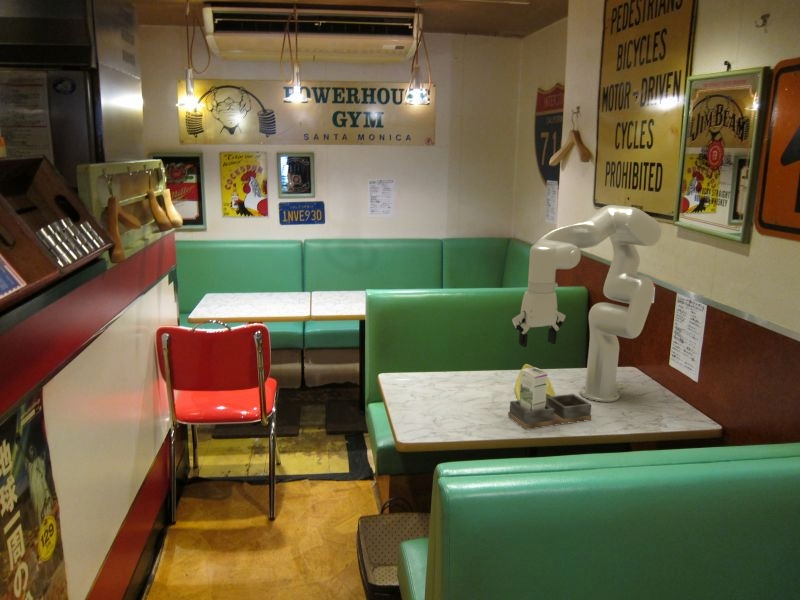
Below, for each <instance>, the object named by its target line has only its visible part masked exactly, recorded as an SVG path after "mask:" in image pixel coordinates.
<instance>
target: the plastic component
mask: <svg viewBox="0 0 800 600" xmlns="http://www.w3.org/2000/svg"><path fill="white" fill-rule="evenodd" d="M530 367H533V366H532V365H531V364H528V363H525V364H524V365H522V368H521V369H520V371H519V374H518V376H517V378H516V381H515V387H514V392H515V393H514V394H515V397H516V399H517V400H520V387H521V371H522V370H523V369H526V368H530ZM551 396H557V395H556V392H555V389H554V388H553V385H552V381H551V379H550V378H549V377H548V376H547V389H546V404H547V397H551ZM517 400H516V401H517Z"/></svg>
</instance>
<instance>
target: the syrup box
mask: <svg viewBox="0 0 800 600" xmlns="http://www.w3.org/2000/svg"><path fill="white" fill-rule="evenodd" d="M521 370H522V369H521ZM521 370H520V371H521ZM548 374H549V373H548V372H547V371H545V370H543V369H540V368H538V367H536V366H532V367H530V368H526V369H523V370H522V371H521V387H520V403H519V405H520V406H521V407H522V408H524V409H525V410H527V411H534V410H542V409H545V403H546V389H547V377H548ZM546 404H547V403H546Z"/></svg>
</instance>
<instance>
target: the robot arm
mask: <svg viewBox="0 0 800 600" xmlns="http://www.w3.org/2000/svg"><path fill="white" fill-rule="evenodd" d="M661 236H662V228H661V224H660V223H659V222H658V221H657V220H656V219H655V218H654V217H652V216H650V215H649V214H647V213H646V212H645V211H643V210H642V209H639V208H637V207H635V206H624V205H615V204H609V205H604V206H603V207H601V208H600V209H598V210H597V211H595V212H594V213H592V214H591V215H589V216H588V217H586V218H585V219H583V220H581V221H580V222H577V223H572V224H570V225H566V226H564V227H560V228H557V229H554V230H551V231H550V232H547V233H546V234H545V235H543V236H542V237H540V238H539V239H538V240H537V241H536V242H535V244H533V245H532V246H531V247H530V249H529V265H528V279H527V290H526V291H524V294H523V297H522V300H521V301H522V302H521V307H520V313H519V314H517V315H516V316H514V317H513V318H512V319H511V321H512V324H513V326H514V328H515V329H516V331H517V332H518V343H519V345H520V346H521V347H523V348H527V347H528V333H527V332H528V331H529V330H530V328H539V327H550V328H548V333H547V342H549V343H550V344H552V345H556V342H557V336H558V333H557V332H558V331H559V330H560V327H561V326H563V322H564V321H565V318H566V317H567V316H566V314H564V313H562V312H561V311H558V298H557V292H556V289H555V288H558V286H559V285H558V282H556V272H557V271H556V270H571V269H573V268H574V267H577V265H578V264H579V263H580V260H581V258H582V257H581V256H582V255H581V249H582V250H583V249H589V248H594V247H596V246H599V244H601V243H602V242H604V241H605V240H606V239H607V238H609V240H610V241H611V247H612V249H613V254H612V255H613V256H612V261H611V263H610V267H609V269H608V272H607V276H606V278H605V281H604V285H603V289H602V291H603V295H604V296H605V297H606V298H608V299H609V300H612V301H616V302H620V303H624V304H629V305H628V307H627V306H623V305H619V304H616V303H610V302H598V303H595V304H593V306H591V308H590V310H589V312H588V326H589V343H588V344H589V345H588V354H587V356H588V357H587V366H586V367H587V368H586V376H585V377H586V378H585V386H583V387H582V388H580V390H579V393H580V395H581V397H583V396H584V397H583V398H585V399H587V398H588V399H587V400H590V401H593V400H595V401H594V402H599V401H600V402H599V403H601V402H602V403H610V402H611V403H612V402H615V401H618V400H619V398H620V393H619V392H618V391H620V390H626V389H628V384H627V383H626V382H625V383H624V382H623V383H619V381H617V375H618V364H619V355H620V354H619V353H620V343H619V338H618V337H621V338H626V339H636V338H637V337H639V335H640V334H641V333H642V331H643V329H644V326H645V323H646V320H647V317H648V315H649V312H650V308H651V307H652V302H653V300H654V294H655V285H654V282H653V281H652V279H651V278H650V277H647V276H644V275H638V274H637V273H638V269H639V266H640V262H641V258H640V254H639V251H638V250H637V247H636V246H642V247H653V246H654V245H656V244H657V243H658V242H659V241H660V239H661ZM617 336H618V337H617Z"/></svg>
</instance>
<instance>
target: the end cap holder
mask: <svg viewBox="0 0 800 600" xmlns="http://www.w3.org/2000/svg"><path fill="white" fill-rule="evenodd" d="M509 402H510V403H509V411H508V414H507V417H508V416H509V417H510V418H509V417H508V418H509V419H511V418H512V419H513V420H514V422H515V423H516V422H517V423H518V424H517V423H516V424H517V425H518V426H520V425H521V426H522V427H521V426H520V427H521V428H523V430H528V429H527V428H531V429H536V428H535V427H539V428H543V427H542V426H546V427H550V426H549V425H553V426H556V425H555V424H561V425H563V424H562V423H568V422H575V423H578V422H577V421H583V422H585V421H584V420H590V421H592V415H591V413H592V404H591V403H589V402H588V401H586V400H584V399H582V398H581V397H579V396H578V395H576V394H575V393H569V394H560V395H556V396H551V397H547V403H545V409H542V410H534V411H527V410H525V409H524V408H522V407H521V406H520V405H519V403H520V400H511V401H509ZM512 419H511V420H512ZM568 424H569V423H568Z"/></svg>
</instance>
